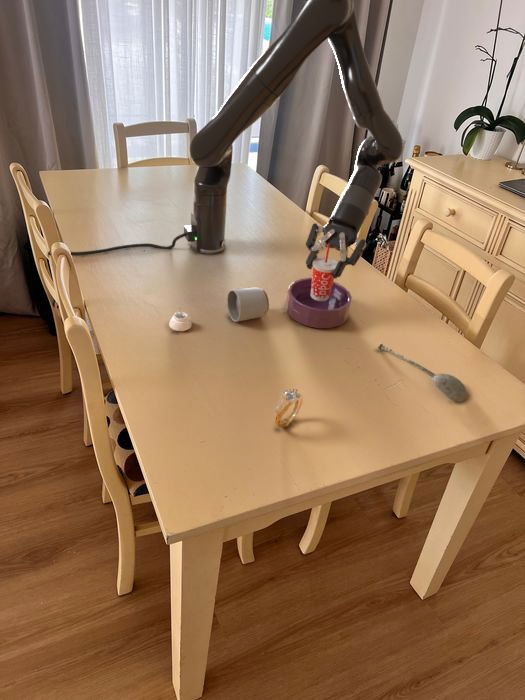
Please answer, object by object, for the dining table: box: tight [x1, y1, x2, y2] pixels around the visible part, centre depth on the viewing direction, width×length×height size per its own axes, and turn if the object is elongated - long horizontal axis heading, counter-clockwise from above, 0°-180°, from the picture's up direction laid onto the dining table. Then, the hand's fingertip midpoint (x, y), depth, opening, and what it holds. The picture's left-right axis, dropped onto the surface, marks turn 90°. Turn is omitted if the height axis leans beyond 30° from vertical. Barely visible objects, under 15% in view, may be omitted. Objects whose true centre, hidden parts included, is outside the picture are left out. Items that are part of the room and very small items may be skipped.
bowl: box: [285, 277, 352, 329], centre depth 127 cm, size 15×15×6 cm
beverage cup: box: [310, 243, 338, 301], centre depth 121 cm, size 6×6×14 cm
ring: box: [273, 388, 304, 429], centre depth 94 cm, size 7×3×8 cm, turn 135°
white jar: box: [168, 311, 193, 332], centre depth 117 cm, size 5×3×5 cm
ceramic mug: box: [226, 287, 270, 323], centre depth 123 cm, size 11×8×8 cm
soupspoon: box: [377, 343, 468, 403], centre depth 112 cm, size 22×3×7 cm
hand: (321, 272), depth 120 cm, fingers closed on beverage cup, 6 cm apart
